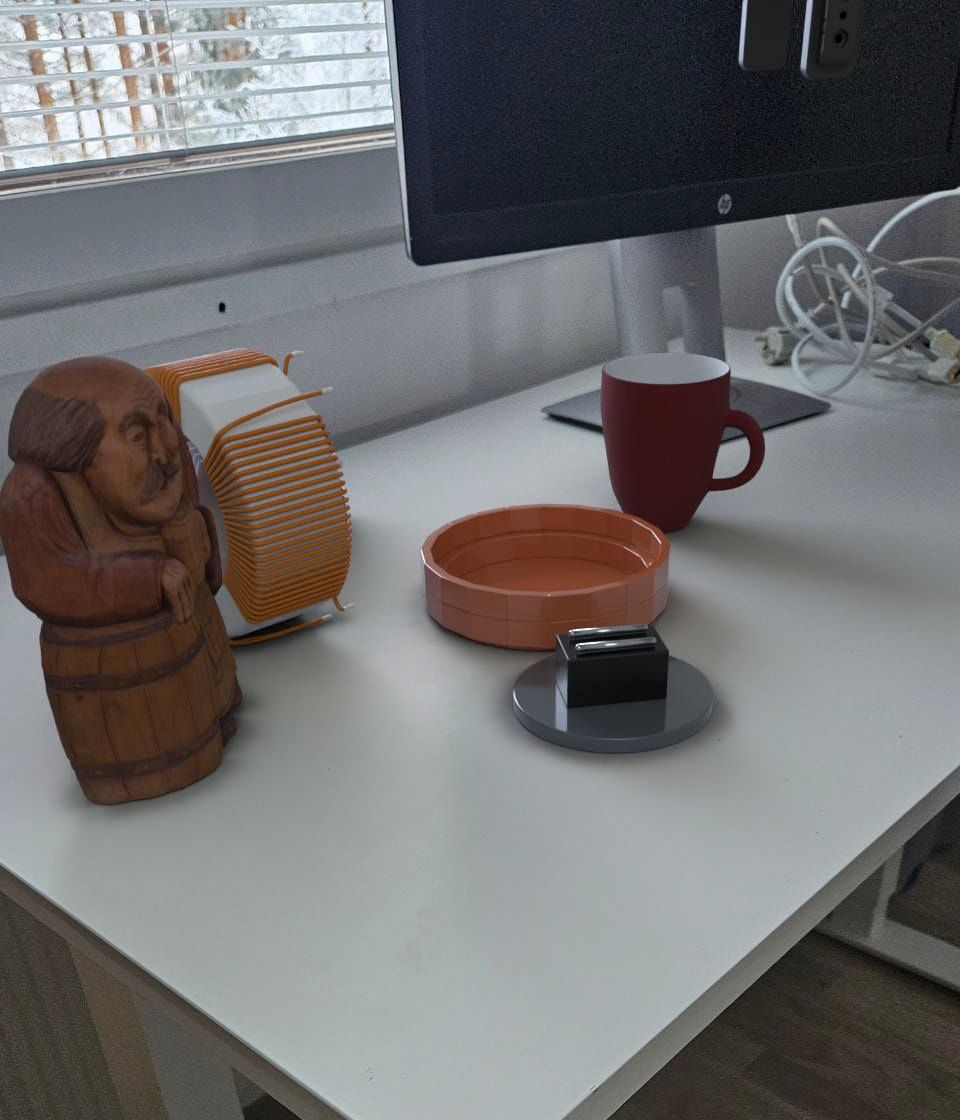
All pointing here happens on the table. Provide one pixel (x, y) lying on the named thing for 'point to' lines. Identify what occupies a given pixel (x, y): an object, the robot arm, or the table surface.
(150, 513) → the wooden figurine
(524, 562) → the bowl
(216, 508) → the coil
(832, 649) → the table surface
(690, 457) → the mug
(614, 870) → the table surface
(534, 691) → the plate
